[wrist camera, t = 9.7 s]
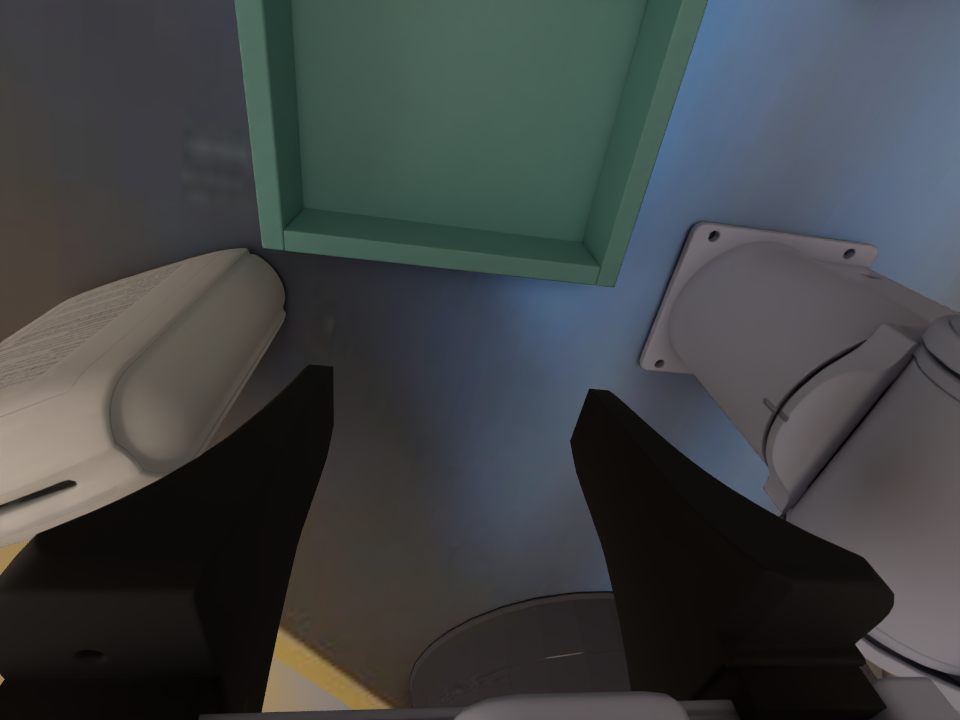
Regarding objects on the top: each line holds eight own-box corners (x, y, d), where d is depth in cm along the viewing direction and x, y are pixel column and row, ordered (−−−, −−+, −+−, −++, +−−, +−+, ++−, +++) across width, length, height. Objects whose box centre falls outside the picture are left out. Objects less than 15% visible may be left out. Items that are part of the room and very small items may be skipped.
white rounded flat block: (116, 370, 23) (-144, 620, 13) (50, 296, 21) (-333, 529, 11) (304, 315, 22) (186, 536, 12) (257, 230, 20) (58, 416, 10)
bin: (684, -74, 15) (743, -106, 12) (590, 256, 22) (614, 287, 19) (258, -171, 14) (206, -237, 11) (289, 219, 20) (261, 248, 17)
